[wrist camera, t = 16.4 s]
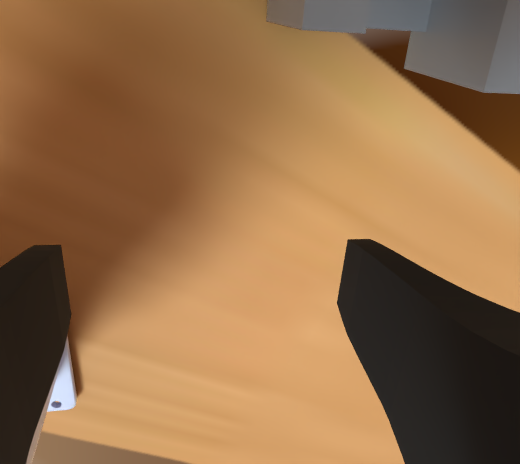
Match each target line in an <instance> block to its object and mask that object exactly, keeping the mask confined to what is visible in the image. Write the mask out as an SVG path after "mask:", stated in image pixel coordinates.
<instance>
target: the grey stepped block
mask: <svg viewBox="0 0 520 464" xmlns="http://www.w3.org/2000/svg"><path fill="white" fill-rule="evenodd" d="M266 21H267V22H271V23H276V24H280V25H284V26H288V27H292V28H296V29H300V30H312V31H329V32H346V33H363V34H365V33H366V28H370V29H387V30H403V31H411V34H410V40H409V45H408V50H407V55H406V61H405V66H404V69H408V70H411V71H414V72H417V73H421V74H424V75H428V76H431V77H434V78H437V79H441V80H444V81H447V82H451V83H454V84H457V85H461V86H464V87H467V88H470V89H474V90H477V91H480V92H486V93H513V94H520V0H268V2H267V19H266Z"/></svg>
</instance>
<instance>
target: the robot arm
mask: <svg viewBox="0 0 520 464" xmlns="http://www.w3.org/2000/svg"><path fill="white" fill-rule="evenodd" d="M337 305H338V308H339V311H340V314H341V318H342V321H343V324H344V327H345V329H346V332H347V335H348V337H349V339H350V341H351V343H352V345H353V347H354V349H355V352H356V354H357V356H358V358H359V360H360V362H361V364H362V366H363V368H364V369H365V371H366V373H367V375H368V377H369V379H370V381H371V383H372V385H373V387H374V389H375V391H376V393H377V395H378V397H379V399H380V401H381V403H382V405H383V408H384V410H385V412H386V414H387V417H388V419H389V421H390V424H391V427H392V429H393V432H394V435H395V437H396V440H397V443H398V446H399V448H400V451H401V454H402V456H403V459H404V462H405V464H520V313H519V312H516V311H513V310H511V309H508V308H506V307H503V306H501V305H498V304H496V303H494V302H491V301H489V300H486V299H484V298H482V297H479V296H477V295H475V294H473V293H471V292H469V291H466V290H464V289H462V288H460V287H458V286H456V285H454V284H452V283H450V282H448V281H446V280H445V279H443V278H441V277H439V276H437V275H435V274H433V273H432V272H430V271H428V270H426V269H424V268H423V267H421V266H419V265H417V264H415V263H414V262H412V261H410V260H408V259H407V258H405V257H403V256H401V255H400V254H398V253H396V252H394V251H393V250H391V249H389V248H387V247H385V246H384V245H382V244H380V243H378V242H375V241H373V240H371V239H350V240H348V241H347V247H346V253H345V259H344V265H343V271H342V277H341V283H340V288H339V294H338V300H337ZM70 318H71V309H70V303H69V296H68V289H67V283H66V276H65V269H64V263H63V256H62V249H61V245H34V246H32V247H30V248H28V249H27V250H25V251H24V252H22V253H21V254H19V255H18V256H16V257H15V258H13V259H12V260H11V261H9V262H8V263H6V264H5V265H3V266H2V267H1V268H0V464H32V461H33V457H34V454H35V450H36V447H37V444H38V440H39V437H40V433H41V430H42V427H43V423H44V420H45V416H46V413H47V411H58V410H68V409H72V408H73V407H74V406H75V405H76V401H77V395H76V388H75V382H74V375H73V368H72V362H71V355H70V349H69V342H68V335H67V334H68V329H69V324H70ZM55 401H59V403H58V402H55Z"/></svg>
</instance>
